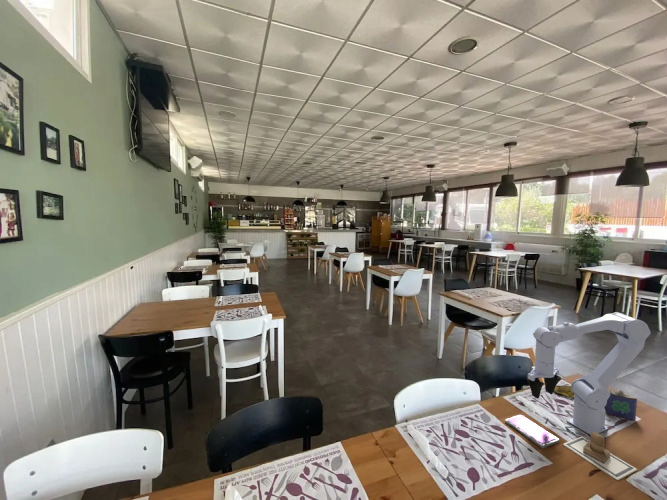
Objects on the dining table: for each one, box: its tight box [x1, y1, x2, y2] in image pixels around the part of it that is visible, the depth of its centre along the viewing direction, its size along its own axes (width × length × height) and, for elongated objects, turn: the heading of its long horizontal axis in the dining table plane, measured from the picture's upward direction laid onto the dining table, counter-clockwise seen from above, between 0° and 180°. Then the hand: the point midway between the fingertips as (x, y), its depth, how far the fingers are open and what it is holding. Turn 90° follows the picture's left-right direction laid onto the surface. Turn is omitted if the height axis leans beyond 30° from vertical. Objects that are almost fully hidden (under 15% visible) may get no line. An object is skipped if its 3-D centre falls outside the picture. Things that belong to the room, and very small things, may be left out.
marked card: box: [562, 436, 638, 481], centre depth 87 cm, size 10×14×1 cm
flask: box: [604, 389, 638, 422], centre depth 106 cm, size 9×3×11 cm, turn 61°
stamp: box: [583, 432, 611, 464], centre depth 88 cm, size 5×5×6 cm
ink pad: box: [504, 414, 560, 449], centre depth 98 cm, size 8×13×1 cm, turn 20°
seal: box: [553, 385, 574, 400], centre depth 122 cm, size 9×5×15 cm
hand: (542, 394), depth 104 cm, fingers open, 7 cm apart
